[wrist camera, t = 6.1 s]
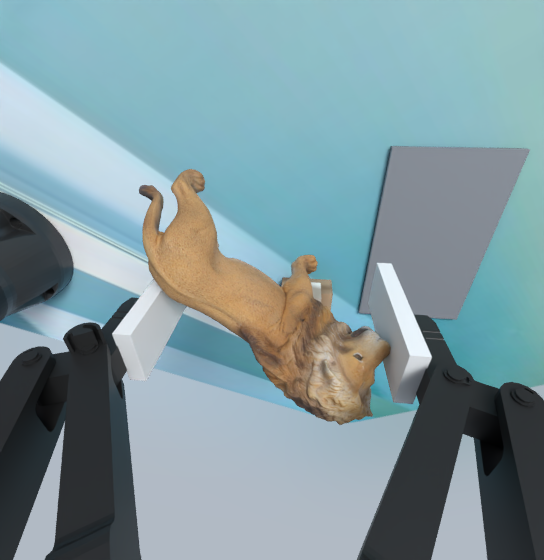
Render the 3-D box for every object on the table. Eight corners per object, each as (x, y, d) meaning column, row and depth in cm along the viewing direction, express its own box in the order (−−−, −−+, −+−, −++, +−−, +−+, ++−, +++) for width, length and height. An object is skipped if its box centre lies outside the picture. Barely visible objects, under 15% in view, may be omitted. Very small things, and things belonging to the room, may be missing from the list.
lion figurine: (383, 272, 19) (425, 403, 11) (333, 326, 22) (340, 459, 14) (156, 143, 16) (18, 203, 9) (133, 224, 19) (15, 320, 12)
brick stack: (282, 305, 41) (278, 337, 36) (283, 267, 38) (278, 296, 33) (327, 308, 41) (329, 340, 36) (332, 269, 37) (335, 299, 32)
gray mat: (358, 310, 40) (359, 313, 40) (391, 146, 29) (392, 147, 29) (455, 316, 39) (456, 319, 39) (526, 148, 28) (530, 149, 28)
